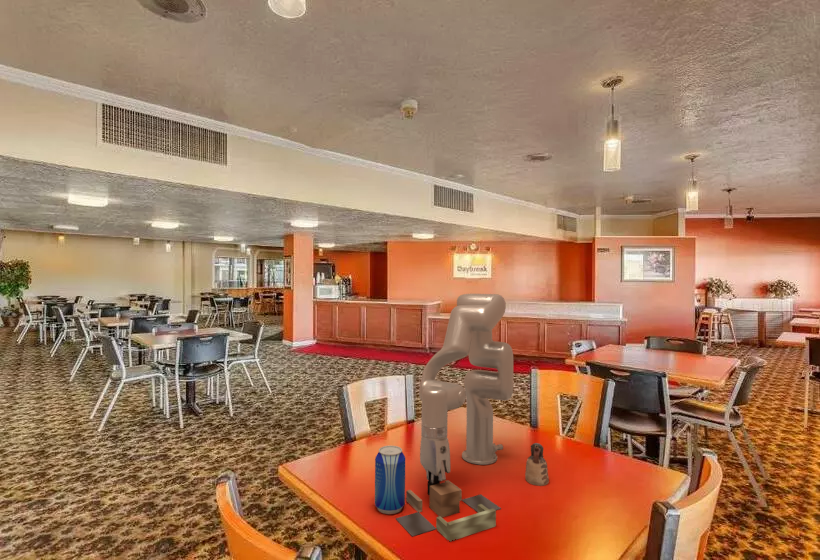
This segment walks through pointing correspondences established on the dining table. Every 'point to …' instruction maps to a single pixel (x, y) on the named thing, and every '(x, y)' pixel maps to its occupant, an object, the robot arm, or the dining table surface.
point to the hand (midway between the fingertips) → (433, 494)
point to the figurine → (536, 467)
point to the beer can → (390, 480)
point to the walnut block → (444, 499)
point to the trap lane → (453, 529)
